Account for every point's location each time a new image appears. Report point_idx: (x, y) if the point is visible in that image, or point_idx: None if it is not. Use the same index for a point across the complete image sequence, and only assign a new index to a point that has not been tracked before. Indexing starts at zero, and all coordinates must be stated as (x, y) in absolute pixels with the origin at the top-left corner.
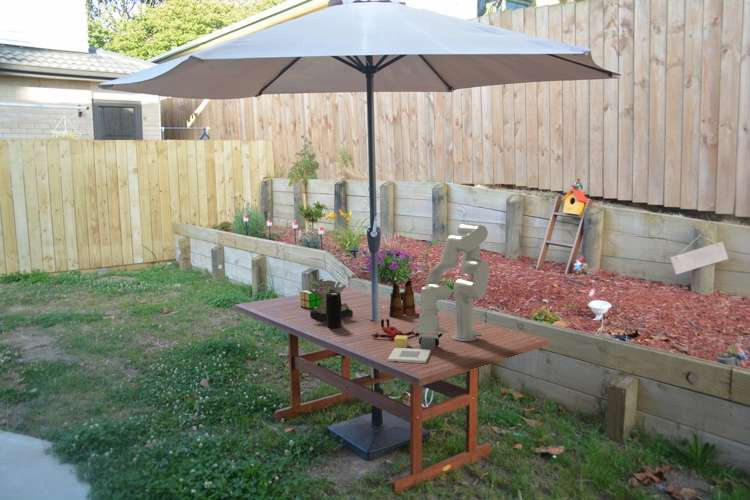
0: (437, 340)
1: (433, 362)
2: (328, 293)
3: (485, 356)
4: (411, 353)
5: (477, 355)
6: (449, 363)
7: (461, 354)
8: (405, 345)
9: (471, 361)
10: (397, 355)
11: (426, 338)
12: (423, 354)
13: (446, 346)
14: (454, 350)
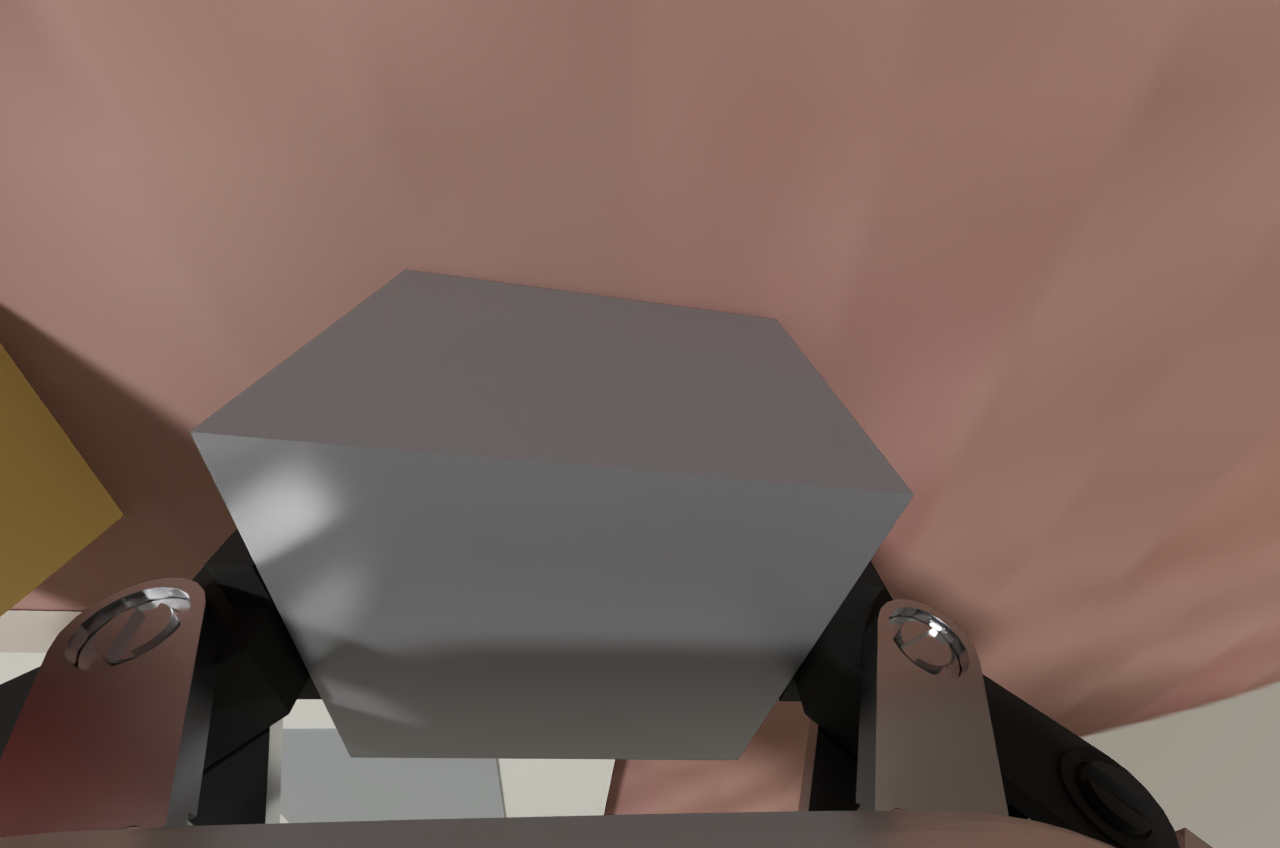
0: None
1: (663, 800)
2: None
3: (1249, 672)
4: (396, 775)
5: (1189, 659)
6: (796, 798)
7: (1022, 652)
8: (46, 565)
9: None
10: None
11: (494, 702)
12: (551, 772)
13: (993, 328)
14: (1020, 539)
